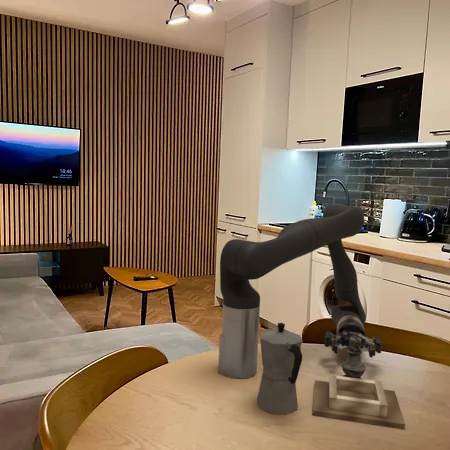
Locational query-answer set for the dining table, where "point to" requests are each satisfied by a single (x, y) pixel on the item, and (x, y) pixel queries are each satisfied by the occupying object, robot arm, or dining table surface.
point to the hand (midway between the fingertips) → (353, 351)
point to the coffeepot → (279, 370)
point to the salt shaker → (354, 359)
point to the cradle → (357, 401)
